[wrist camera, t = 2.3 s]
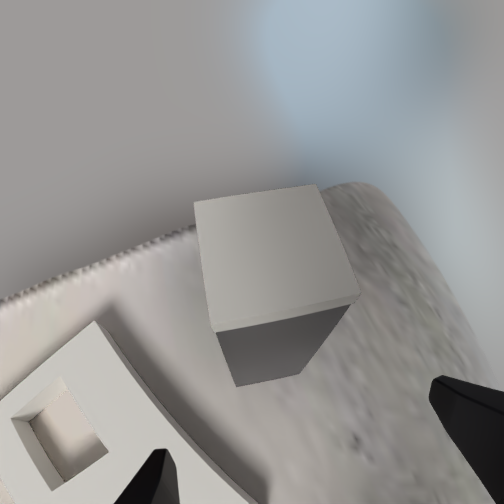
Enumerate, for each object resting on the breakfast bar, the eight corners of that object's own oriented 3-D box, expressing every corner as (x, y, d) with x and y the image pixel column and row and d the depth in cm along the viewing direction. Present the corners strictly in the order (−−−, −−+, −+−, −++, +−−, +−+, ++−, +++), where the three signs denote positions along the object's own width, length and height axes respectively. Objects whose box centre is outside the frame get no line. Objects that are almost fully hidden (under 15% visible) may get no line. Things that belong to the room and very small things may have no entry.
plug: (300, 374, 21) (361, 292, 9) (235, 387, 20) (210, 324, 9) (284, 316, 23) (316, 183, 12) (224, 327, 23) (193, 202, 11)
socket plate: (268, 511, 15) (270, 523, 13) (115, 596, 10) (100, 610, 7) (108, 331, 22) (91, 317, 20) (-8, 428, 16) (-30, 423, 14)
